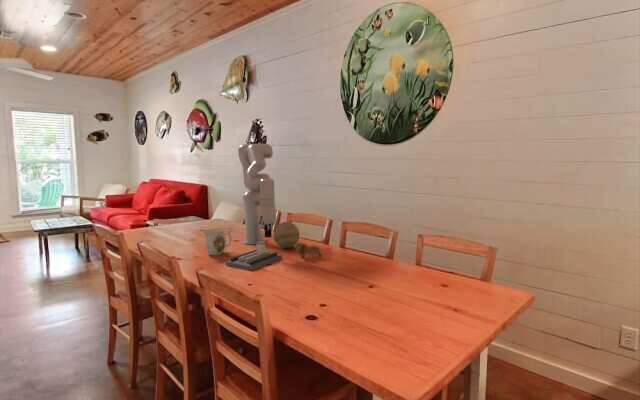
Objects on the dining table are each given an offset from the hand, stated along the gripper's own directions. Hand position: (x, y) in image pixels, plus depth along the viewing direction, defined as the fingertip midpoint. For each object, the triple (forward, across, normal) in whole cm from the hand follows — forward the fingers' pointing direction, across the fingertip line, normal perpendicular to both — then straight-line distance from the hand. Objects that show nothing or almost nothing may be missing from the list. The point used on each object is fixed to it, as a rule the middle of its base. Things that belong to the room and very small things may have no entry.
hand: (268, 237), depth 201 cm
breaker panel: (+11, +10, -1) cm, 15 cm away
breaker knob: (+9, +5, -1) cm, 10 cm away
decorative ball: (+11, -22, -4) cm, 24 cm away
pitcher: (+11, +8, -29) cm, 32 cm away
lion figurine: (+11, -9, +19) cm, 24 cm away
